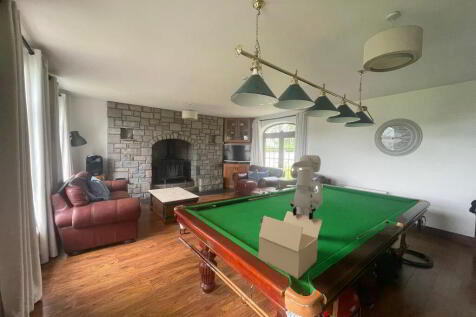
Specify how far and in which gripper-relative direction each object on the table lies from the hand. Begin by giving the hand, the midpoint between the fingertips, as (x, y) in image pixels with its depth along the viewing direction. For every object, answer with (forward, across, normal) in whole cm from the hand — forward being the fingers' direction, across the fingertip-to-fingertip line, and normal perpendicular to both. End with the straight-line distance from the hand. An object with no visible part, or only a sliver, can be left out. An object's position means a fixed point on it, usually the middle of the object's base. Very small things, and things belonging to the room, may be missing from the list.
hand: (302, 217), depth 108 cm
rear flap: (+3, 0, +2) cm, 4 cm away
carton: (+20, 0, +16) cm, 25 cm away
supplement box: (+20, +18, +9) cm, 28 cm away
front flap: (+3, 0, +25) cm, 25 cm away
